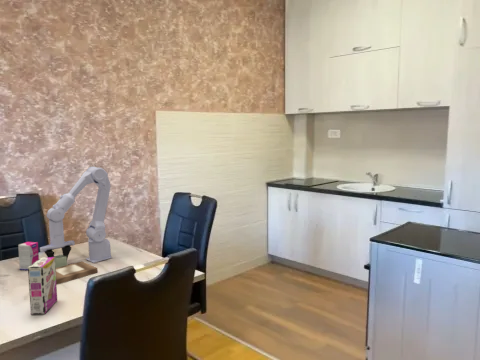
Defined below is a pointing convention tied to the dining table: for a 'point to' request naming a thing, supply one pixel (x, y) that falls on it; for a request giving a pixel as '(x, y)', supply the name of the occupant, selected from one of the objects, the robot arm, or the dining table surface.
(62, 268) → the base board
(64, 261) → the sage cube
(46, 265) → the candy bar box
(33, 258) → the supplement box
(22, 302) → the dining table surface
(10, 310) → the dining table surface
